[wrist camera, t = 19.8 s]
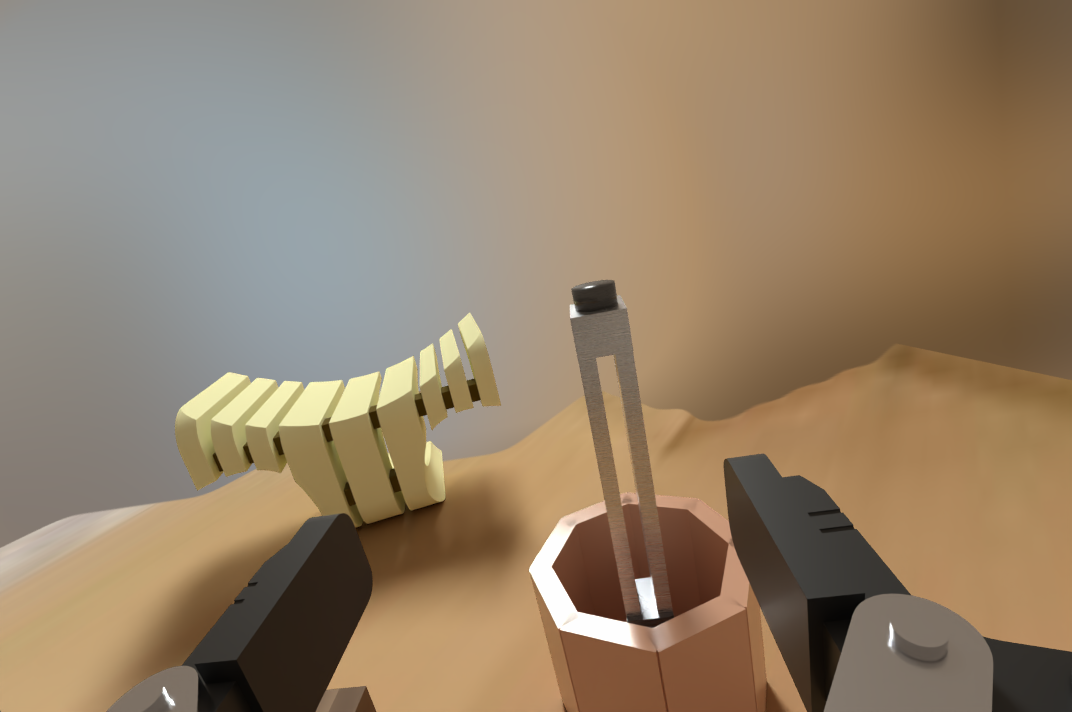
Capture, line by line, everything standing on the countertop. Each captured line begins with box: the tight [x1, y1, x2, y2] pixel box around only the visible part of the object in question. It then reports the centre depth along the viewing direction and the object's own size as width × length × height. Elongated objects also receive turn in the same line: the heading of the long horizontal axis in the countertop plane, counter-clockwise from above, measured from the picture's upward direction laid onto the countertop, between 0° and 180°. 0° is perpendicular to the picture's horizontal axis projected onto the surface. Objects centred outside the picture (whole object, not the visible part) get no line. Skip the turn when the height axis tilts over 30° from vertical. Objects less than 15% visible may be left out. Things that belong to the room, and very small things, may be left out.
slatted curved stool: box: [175, 313, 501, 528], centre depth 58 cm, size 30×16×18 cm, turn 103°
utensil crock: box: [529, 492, 767, 712], centre depth 29 cm, size 11×11×10 cm
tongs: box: [570, 280, 674, 628], centre depth 26 cm, size 3×2×24 cm
